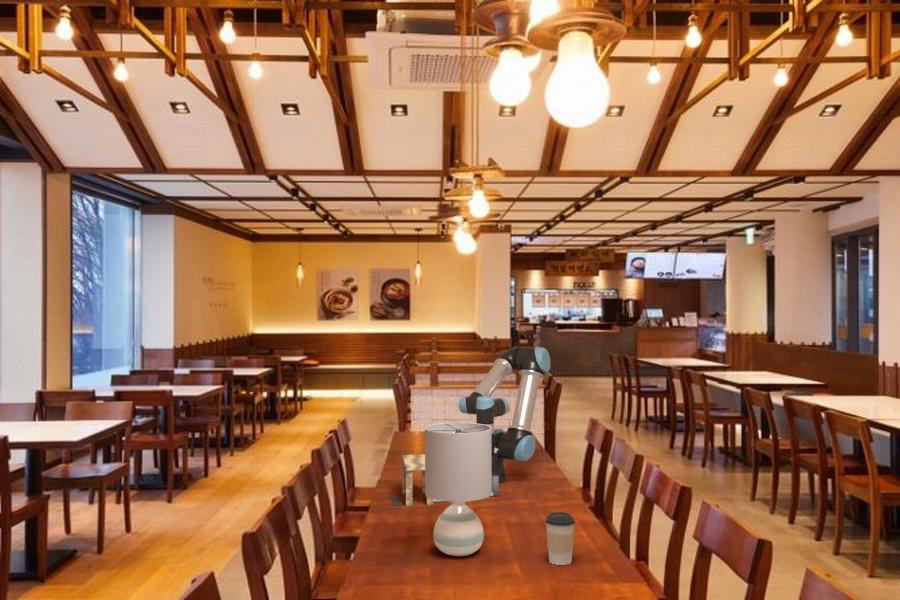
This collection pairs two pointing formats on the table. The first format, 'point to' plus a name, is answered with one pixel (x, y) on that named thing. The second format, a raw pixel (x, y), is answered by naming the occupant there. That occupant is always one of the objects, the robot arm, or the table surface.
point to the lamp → (458, 482)
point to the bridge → (407, 466)
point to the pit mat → (396, 500)
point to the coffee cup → (560, 537)
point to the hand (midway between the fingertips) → (485, 489)
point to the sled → (494, 487)
